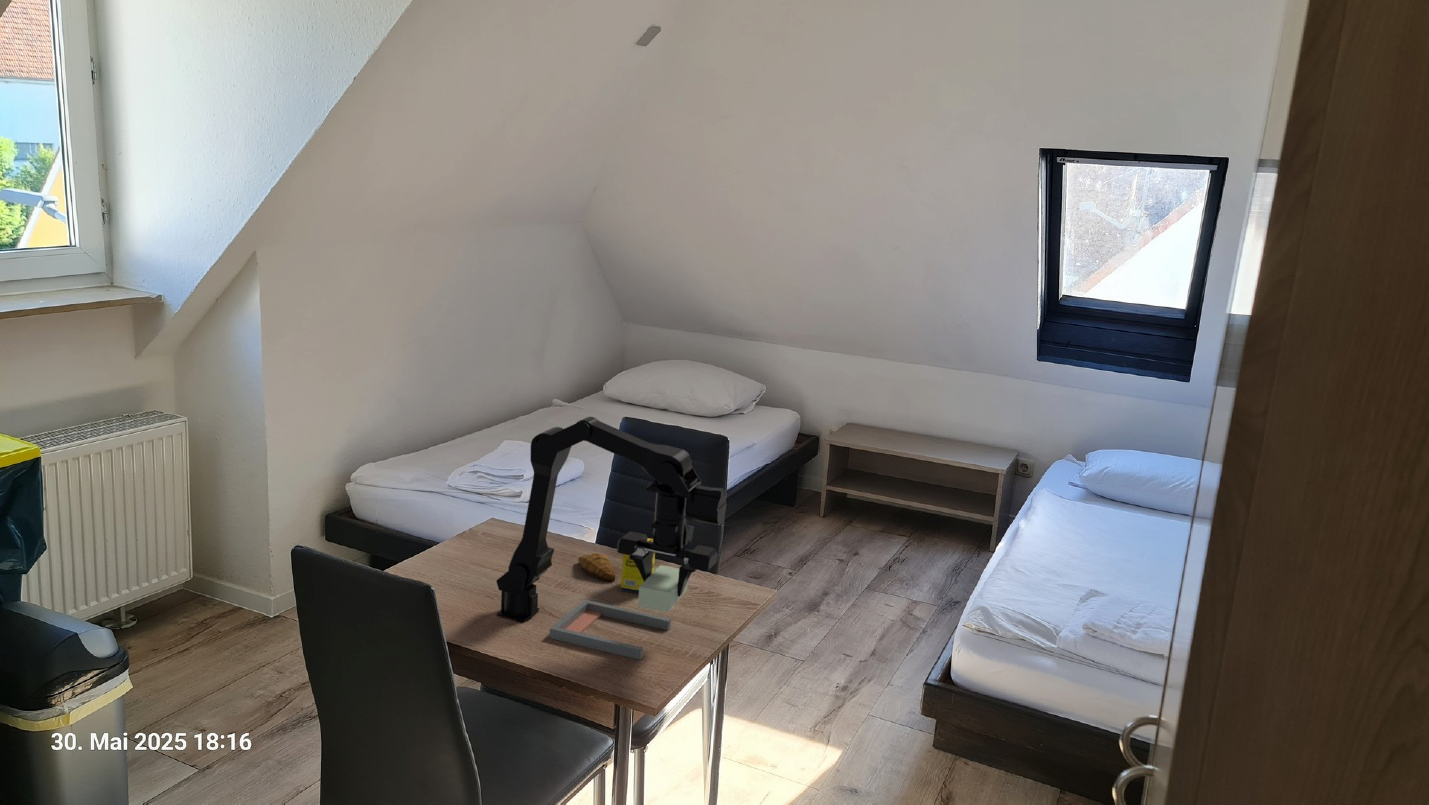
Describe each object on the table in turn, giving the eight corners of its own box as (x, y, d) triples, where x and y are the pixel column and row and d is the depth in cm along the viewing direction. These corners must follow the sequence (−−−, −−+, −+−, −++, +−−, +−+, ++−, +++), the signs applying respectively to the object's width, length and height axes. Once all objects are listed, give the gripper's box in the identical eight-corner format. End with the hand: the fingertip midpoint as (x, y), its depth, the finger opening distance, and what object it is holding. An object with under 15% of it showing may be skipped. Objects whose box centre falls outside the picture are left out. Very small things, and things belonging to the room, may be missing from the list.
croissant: (567, 566, 229) (568, 546, 228) (592, 561, 233) (593, 541, 232) (599, 587, 219) (600, 565, 218) (625, 581, 223) (626, 560, 222)
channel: (549, 638, 192) (549, 628, 192) (584, 608, 206) (585, 599, 206) (640, 660, 186) (640, 650, 186) (670, 628, 200) (670, 619, 200)
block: (637, 606, 186) (639, 587, 185) (658, 583, 197) (660, 565, 196) (668, 612, 184) (669, 592, 183) (687, 589, 196) (688, 570, 195)
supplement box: (646, 595, 216) (649, 548, 213) (620, 591, 217) (623, 544, 214) (653, 585, 221) (656, 539, 219) (627, 581, 222) (630, 535, 220)
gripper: (729, 512, 192) (723, 587, 195) (641, 495, 198) (636, 569, 201) (710, 529, 182) (704, 608, 185) (618, 511, 187) (613, 588, 191)
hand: (664, 592), depth 191 cm, fingers closed on block, 6 cm apart
